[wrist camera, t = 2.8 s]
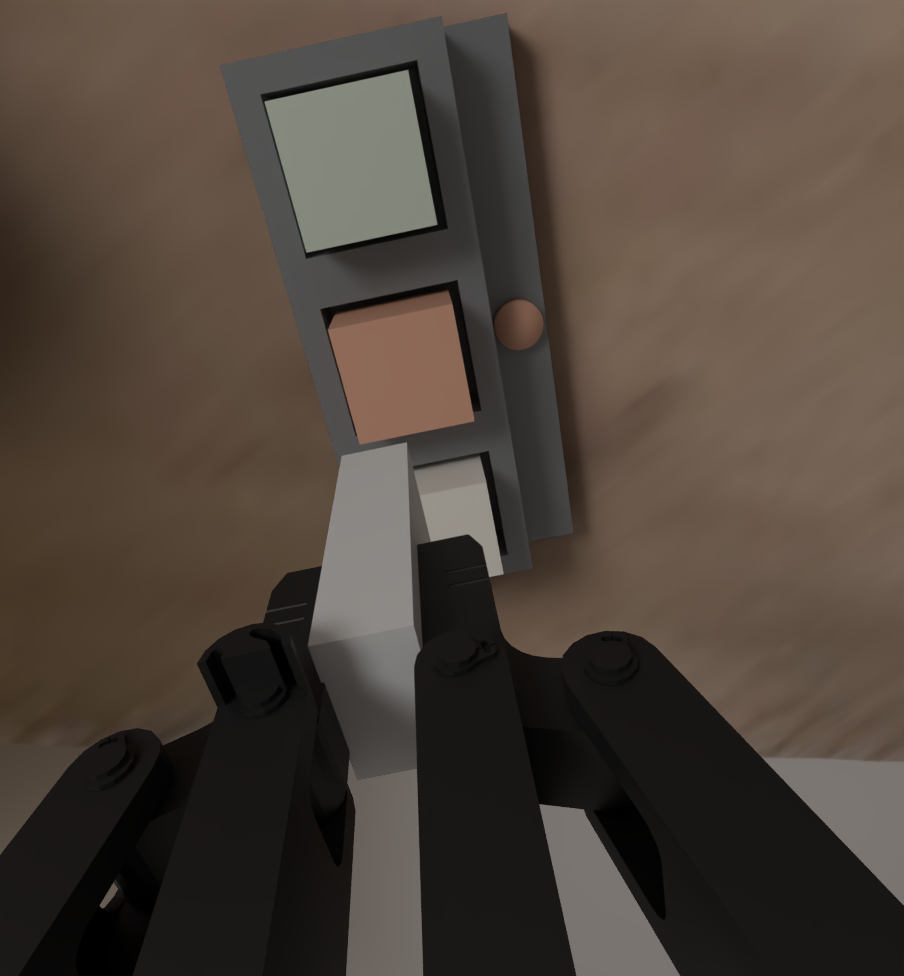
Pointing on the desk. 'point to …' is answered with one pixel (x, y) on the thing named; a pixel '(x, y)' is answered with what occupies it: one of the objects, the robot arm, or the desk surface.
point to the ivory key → (459, 504)
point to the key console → (433, 255)
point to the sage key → (353, 161)
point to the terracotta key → (402, 366)
